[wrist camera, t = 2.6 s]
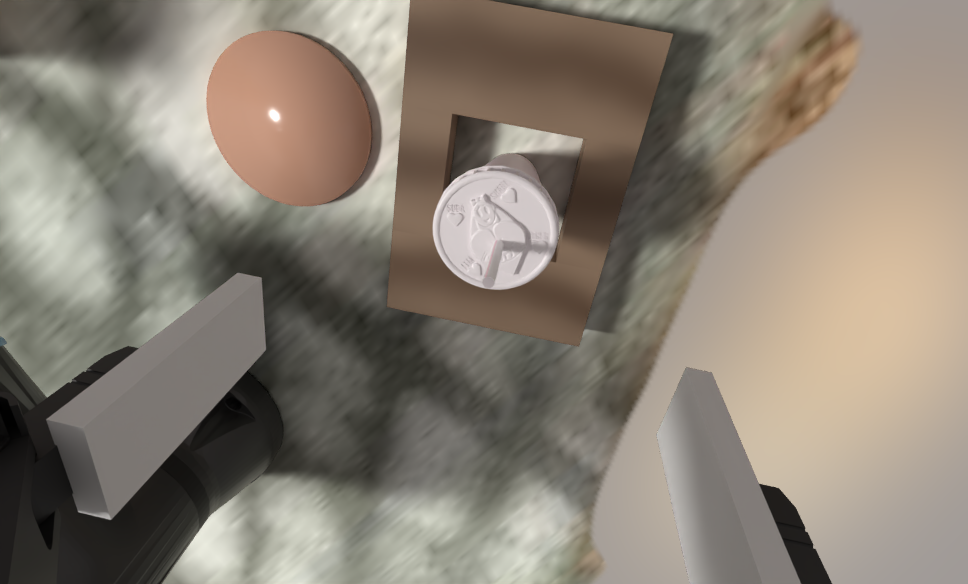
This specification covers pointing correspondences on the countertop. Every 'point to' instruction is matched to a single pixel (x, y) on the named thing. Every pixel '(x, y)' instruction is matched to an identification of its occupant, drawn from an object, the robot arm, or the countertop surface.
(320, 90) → the glossy peach dome
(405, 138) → the frame
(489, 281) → the smoothie
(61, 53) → the countertop surface
